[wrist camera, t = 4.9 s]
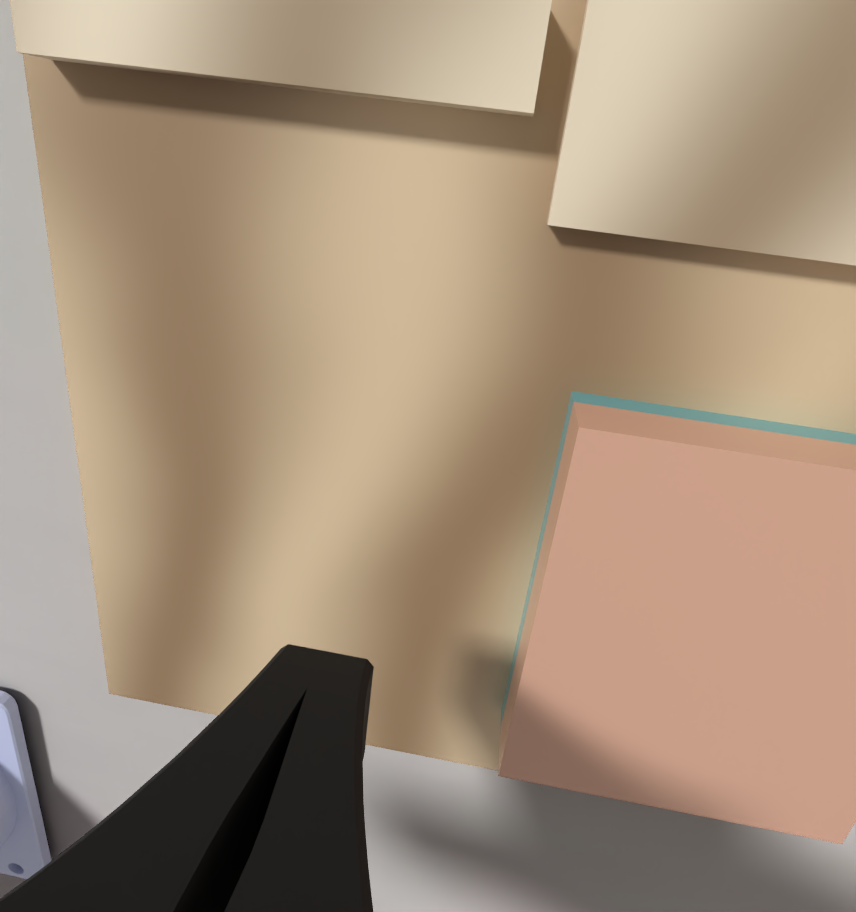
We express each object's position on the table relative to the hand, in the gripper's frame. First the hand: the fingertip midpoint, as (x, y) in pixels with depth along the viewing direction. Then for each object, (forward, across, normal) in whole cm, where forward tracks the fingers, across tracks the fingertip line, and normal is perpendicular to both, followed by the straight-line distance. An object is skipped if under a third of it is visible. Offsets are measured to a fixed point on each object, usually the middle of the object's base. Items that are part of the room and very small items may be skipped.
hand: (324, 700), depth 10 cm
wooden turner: (+4, -1, -9) cm, 10 cm away
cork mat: (+5, -2, -3) cm, 6 cm away
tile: (+3, -3, 0) cm, 5 cm away
